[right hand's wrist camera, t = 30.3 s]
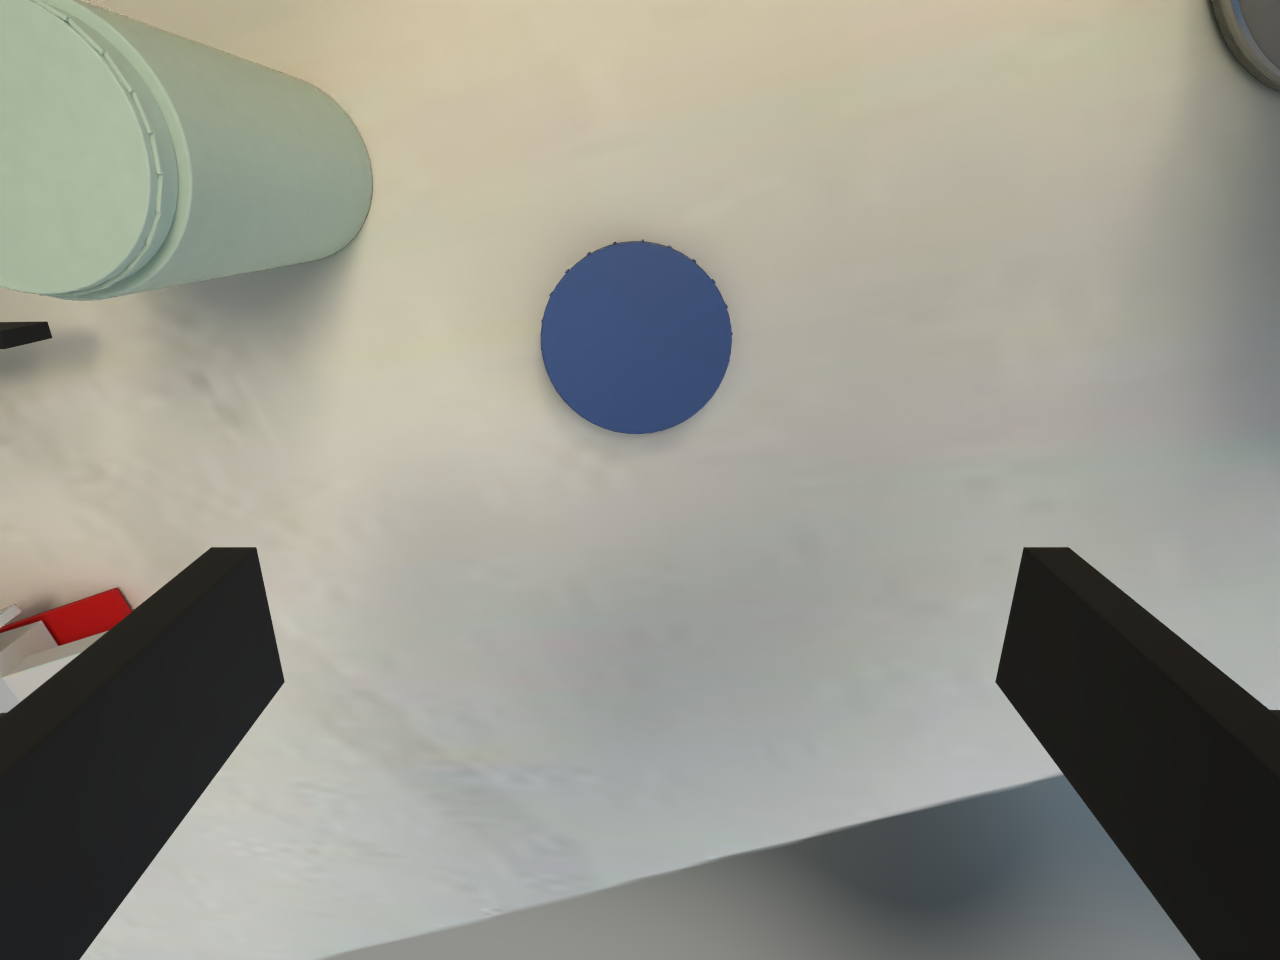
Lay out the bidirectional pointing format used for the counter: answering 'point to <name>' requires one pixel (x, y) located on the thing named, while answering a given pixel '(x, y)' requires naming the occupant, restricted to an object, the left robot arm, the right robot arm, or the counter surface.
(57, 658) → the toy
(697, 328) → the lid
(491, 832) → the counter surface
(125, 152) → the jar
